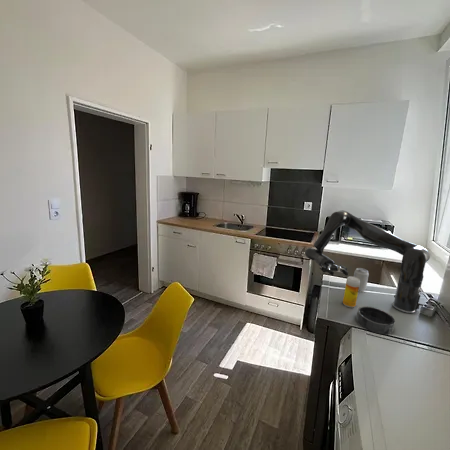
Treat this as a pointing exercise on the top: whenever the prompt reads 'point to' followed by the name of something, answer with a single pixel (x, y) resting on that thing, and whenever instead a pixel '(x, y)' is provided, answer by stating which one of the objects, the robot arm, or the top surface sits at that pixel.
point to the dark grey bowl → (375, 320)
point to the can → (362, 277)
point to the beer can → (351, 291)
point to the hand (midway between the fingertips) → (340, 273)
